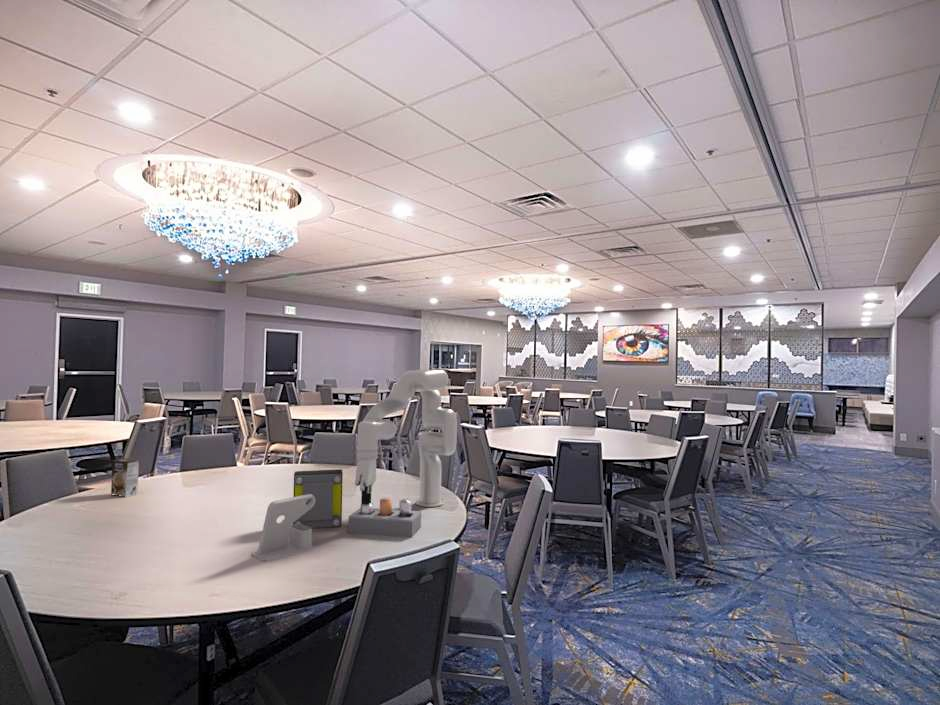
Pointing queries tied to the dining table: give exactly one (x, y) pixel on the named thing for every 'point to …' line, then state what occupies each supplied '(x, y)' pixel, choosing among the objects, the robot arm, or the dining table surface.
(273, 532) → the phone holder
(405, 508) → the plunger
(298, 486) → the electrical component
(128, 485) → the coffee box
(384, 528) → the grey rectangular block
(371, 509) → the plunger
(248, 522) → the dining table surface
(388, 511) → the plunger rust
